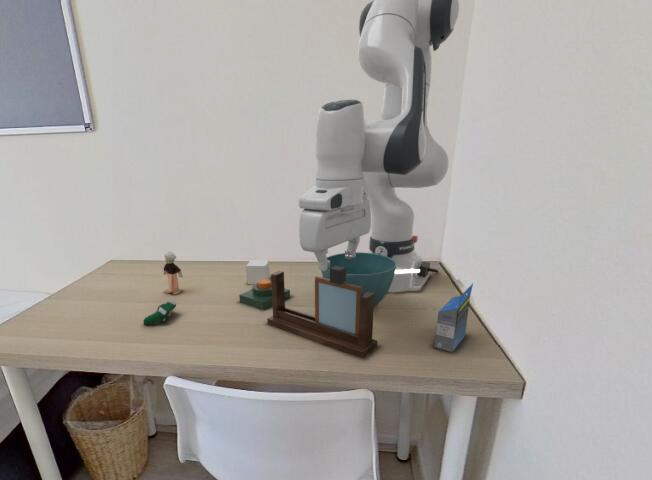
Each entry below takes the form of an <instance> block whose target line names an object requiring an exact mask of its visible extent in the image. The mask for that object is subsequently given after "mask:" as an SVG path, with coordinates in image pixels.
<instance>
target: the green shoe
mask: <svg viewBox="0 0 652 480" xmlns="http://www.w3.org/2000/svg"><path fill="white" fill-rule="evenodd" d="M176 306H177V303H176V301H174V300H173V299H171V298H169V299H168V300H167V302H165V303H161V304H160V305H158V307H157V311H155V312H154V313H152V314H149V315H148V316H146V317H145V318H144V319H143V325H145V326H149V325H150V326H151V325H154V324H157V323H159V322H165V321H166V319H167V318H166V317H170V316H171V315H172V313H171V312H173V310H174V309H175V308H176Z"/></svg>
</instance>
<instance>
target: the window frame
mask: <svg viewBox="0 0 652 480" xmlns="http://www.w3.org/2000/svg"><path fill="white" fill-rule="evenodd" d="M270 281H271V286H272V306H271V307H272V315H271V316H269V317H268V318H267V321H266V322H267V325H270V326H273V327H275V328H278V329H280V330H282V331H285V332H288V333H292V334H294V335H297V336H299V337H303V338H304V339H305V338H306V339H308V340H310V341H313V342H316V343H319V344H322V345H324V346H327V347H330V348H332V349H336V350H339V351H341V352H343V353H347V354H350V355H352V356H355V357H358V358H361V359H364V358H366V357H367V356H368V355H369V354H370V353H372V352H373V351H374V350H375V349H376V348H377V347H378V342H379V341H378V340H377V339H374V338H373V332H374V331H373V330H374V328H373V327H374V314H375V313H374V312H375V311H374V310H375V308H374V293H370V292H367V293H365V294H363V295H362V296H360V315H359V335H356V334H353V333H350V332H346V331H343V330H340V329H337V328H334V327H331V326H328V325H325V324H322V323H318V322H315V315H311V314H309V313H305V312H302V311H299V310H295V309H292V308H289V307H286V299H285V289H286V288H285V271H283V270H278V271H276V272H275V271H274V272H272V273H270ZM284 288H285V289H284Z"/></svg>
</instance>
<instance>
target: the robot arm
mask: <svg viewBox="0 0 652 480" xmlns="http://www.w3.org/2000/svg"><path fill="white" fill-rule="evenodd" d="M459 11H460V3H459V0H372V1H369V2H368V3H367V4H365V6H364V8H363V9H362V10H361V12H360V15H359V24H358V26H359V27H358V30H359V31H358V32H359V41H358V46H357V59H358V63H359V65H360V67H361V69H362V71H363V72H364V73H365V74H366V75H367V76H368V77H369V78H371V79H372V80H374V81H376V82H379V83H383V84H384V90H383V100H382V104H381V105H382V106H381V114H380V116H381V119H378V120H365V114H364V106H363V103H362V102H361V101H360V100H358V99H342V100H338V101H331V102H328V103H325V104H324V105H322V106H321V107H320V108H319V110H318V111H319V112H318V116H317V121H316V123H317V124H316V130H315V131H316V132H315V157H316V162H317V171H316V173H315V184H314V185H313V186H311V188H310V189H309V190H307V191H306V192H304V193H303V194H302V195H301V196H299V198H298V207H299V208H300V209H303V210H301V212H300V214H299V221H298V223H299V225H298V226H299V227H298V228H299V229H298V230H299V231H298V233H299V235H298V236H299V245H300V247H301V249H302V250H303V251H305V252H309V253H314V256H315V258H316V260H317V262H318V270H319V271H321V270H322V271H326V270H328V269H330V261H329V260H327V257H328V256H327V254H328V253H329V249H330V248H333V247H335V246H338V245H341V244H344V243H346V242H348V243H347V247H346V249H344V253H345V258H346V259H353V258H355V257H356V252H357V250H358V247H359V244H360V240H361V237H363V236H365V235H368V234H369V233H370V231H371V236H370V237H369V242H368V245H369V246H368V248H369V251H367V253H374V254H379V255H384V256H387V257H389V258H391V259H393V260H394V261H395V262H396V269H395V274H394V278H393V281H392V284H391V286H390V288H389V290H388V292H387V293H405V292H420V291H421V290H422V289H423V287H424V286H425V284H426V282H427V281H428V279H429V278H430V273H429V272H431V273H436V274H438V273H439V270H438V269H435V268H431V262H429V261H423V258H422V256H421V255H419V254H418V253H417V251H415V244H416V243H417V242H418V240H419V239H418V238H419V237H418V235H413V233H414V232H413V231H414V218H415V212H414V210H413V207H411V205H410V204H409V203H407V202H405V201H404V200H403V199H400V197H398V195H397V193H396V189H395V188H403V189H404V188H405V189H420V188H421V189H422V188H428V187H433V186H437V185H439V184H440V183H442V181H443V180H444V179H445V177H446V175H447V173H448V170H449V165H450V159H449V156H448V153H447V151H446V149H445V148H444V147H443V146H442V145H440V144H439V143H438V142H437V141H436V140H435V139H434V137H433V136H432V134H431V132H430V129H429V125H428V103H429V96H430V95H429V94H430V88H431V80H432V79H431V78H432V50H433V52H435V51H437V50H438V49H439V48H440V46H441V44H443V43H444V42H446V41H447V39H448V38H449V37H450V36H451V34H452V33H453V31H454V28H455V26H456V23H457V21H458V17H459ZM431 47H432V49H431ZM322 271H321V272H322Z"/></svg>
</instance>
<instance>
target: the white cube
mask: <svg viewBox="0 0 652 480" xmlns="http://www.w3.org/2000/svg"><path fill="white" fill-rule="evenodd" d="M245 267H246V281H247V285H255V284H257V283H258V281H259V280H263V279H267V280H271V273H270V272H271V271H270V270H271V269H270V259H250V260H249V262H248V263H247V264H246V265H245Z"/></svg>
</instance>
